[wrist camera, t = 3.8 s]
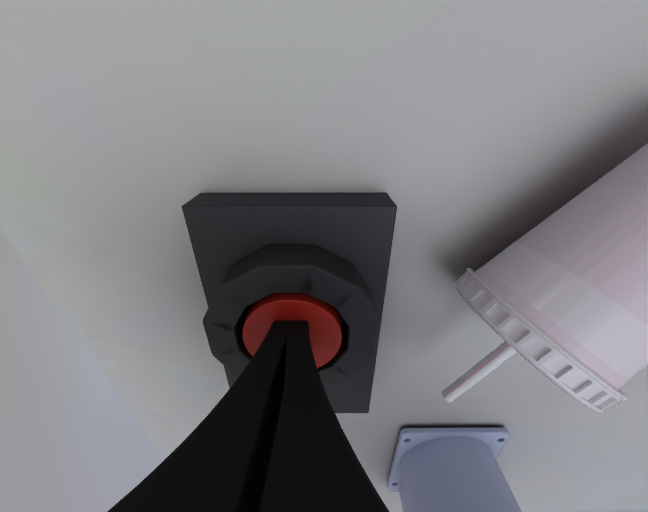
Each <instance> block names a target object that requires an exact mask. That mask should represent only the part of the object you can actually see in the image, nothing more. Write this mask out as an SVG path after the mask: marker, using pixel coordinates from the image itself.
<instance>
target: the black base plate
mask: <svg viewBox="0 0 648 512" xmlns="http://www.w3.org/2000/svg"><path fill="white" fill-rule="evenodd" d="M182 209H183V213H184V217H185V221H186V225H187V228H188V232H189V236H190V240H191V243H192V247H193V251H194V255H195V258H196V262H197V266H198V270H199V274H200V277H201V281H202V285H203V289H204V292H205V296H206V300H207V304H208V307H209V308H208V310H207V312H206V314H205V316H204V319H203V325H204V328H205V331H206V335H207V338H208V342H209V345H210V349H211V352H212V354H213V355H214V357H216V358H217V359H218V360H219V361H220V362H221V363H222V364H223V365H224V368H225V372H226V375H227V379H228V383H229V387H230V388H231V386H232V385H233V384H234V382H235V381H236V380H237V378H238V377H239V376H240V374H241V373H242V371H243V370H244V369H245V367H246V366H247V364H248V363H249V361H250V360H251V358H252V357H253V356H252V355H251V354H250V353H249V351H248V350H247V348H246V346H245V344H244V341H243V327H244V323H245V321H246V318H247V315H248V312H249V309H250V307H251V304H252V303H254V302H256V301H258V300H260V299H262V298H264V297H266V296H268V295H270V294H272V293H306V294H308V295H310V296H313V297H315V298H317V299H319V300H321V301H324V302H326V303H328V304H330V305H332V306H335V308H336V309H337V311H338V312H339V313H340V320H341V331H342V341H341V345H340V348H339V350H338V352H337V353H336V355H335V356H334V357H333V358H332V359H331V360H330V361H329V362H327V363H326V364H324V365H323V366H321V367H318V368H317V369H318V372H319V375H320V378H321V381H322V383H323V386H324V389H325V391H326V394H327V396H328V399H329V401H330V404H331V406H332V408H333V410H334V413H368V412H369V405H370V398H371V391H372V384H373V376H374V369H375V362H376V355H377V347H378V340H379V333H380V326H381V318H382V311H383V304H384V297H385V290H386V282H387V275H388V268H389V261H390V253H391V246H392V239H393V232H394V224H395V217H396V210H397V206H396V205H395V203H394V202H393V201H392V199H391V198H390V197H389V195H388V194H387V193H200V194H199V195H197V196H196V197H194V198H193V199H192V200H190V201H189V202H187V203H186V204H184V205H183V206H182Z"/></svg>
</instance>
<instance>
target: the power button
mask: <svg viewBox="0 0 648 512" xmlns="http://www.w3.org/2000/svg"><path fill="white" fill-rule="evenodd" d="M275 320H306V321H307V322H309V337H310V342H311V347H312V352H313V355H314V359H315V362H316V366H317V368H318V367H321V366H323V365H324V364H326V363H327V362H329V361H330V360H331V359H332V358H333V357H334V356H335V355H336V353H337V352H338V350H339V348H340V345H341V341H342V331H341V320H340V313H339V312H338V311H337V309H336V308H335V306H332V305H330V304H328V303H326V302H324V301H321V300H319V299H317V298H315V297H313V296H310V295H308V294H306V293H272V294H270V295H268V296H266V297H264V298H262V299H260V300H258V301H256V302H254V303H252V304H251V307H250V309H249V312H248V315H247V318H246V321H245V323H244V327H243V341H244V344H245V346H246V348H247V350H248V351H249V353H250V354H251V355H252V356H253V355H254V354H255V352H256V351H257V349H258V348H259V346H260V344H261V343H262V341H263V339H264V338H265V336H266V334H267V332H268V330H269V329H270V327H271V325H272V323H273V322H274V321H275Z"/></svg>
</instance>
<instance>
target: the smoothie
mask: <svg viewBox="0 0 648 512" xmlns="http://www.w3.org/2000/svg"><path fill="white" fill-rule="evenodd" d="M455 286H456V289H457V290H458V292H459V293H460V295H461V296H462V297H463V298H464V300H465V301H466V302H467V303H468V304H469V305H470V306H471V307H472V309H473V310H474V311H475V312H476V313H477V314H478V315H479V316H480V317H481V318H482V319H483V320H484V321H485V322H486V323H487V324H488V325H489V326H490V327H491V328H492V329H493V330H494V331H495V332H496V333H497V334H498V335H499V336H501V337H502V339H504V340H505V342H504V343H502V344H501V345H500V346H499V347H497V348H496V349H495V350H494V351H492V352H491V353H490V354H489V355H487V356H486V357H485V358H484V359H482V360H481V361H480V362H479V363H477V364H476V365H475V366H474V367H472V368H471V369H470V370H469V371H467V372H466V373H465V374H464V375H462V376H461V377H460V378H459V379H457V380H456V381H455V382H454V383H452V384H451V385H450V386H449V387H447V388H446V389H445V390H444V391H443V392H442V395H443V397H444V398H445V399H446V400H447V401H448V402H449V403H451V402H453V401H454V400H455V399H456V398H458V397H459V396H460V395H462V394H463V393H464V392H465V391H467V390H468V389H469V388H471V387H472V386H473V385H475V384H476V383H477V382H478V381H480V380H481V379H482V378H484V377H485V376H486V375H488V374H489V373H490V372H491V371H493V370H494V369H495V368H497V367H498V366H499V365H500V364H502V363H503V362H504V361H506V360H507V359H508V358H510V357H511V356H512V355H513V354H515V353H516V352H518V353H519V354H520V355H521V356H522V357H524V358H525V359H526V360H527V361H528V362H529V363H530V364H532V365H533V366H534V367H535V368H536V369H537V370H539V371H540V372H541V373H542V374H543V375H545V376H546V377H547V378H548V379H549V380H551V381H552V382H553V383H554V384H556V385H557V386H558V387H559V388H561V389H562V390H563V391H565V392H566V393H567V394H568V395H570V396H571V397H573V398H574V399H575V400H577V401H578V402H580V403H581V404H583V405H584V406H586V407H588V408H589V409H591V410H593V411H596V412H600V413H602V412H604V411H605V410H607V409H608V408H610V407H612V406H613V405H615V404H617V403H618V402H620V401H622V400H624V401H628V400H629V399H628V397H627V395H626V394H625V393H624V392H623V391H622V390H621V389H620V388H621V387H622V386H623V385H625V384H626V383H627V382H628V380H630V379H631V378H632V377H633V376H634V375H636V374H637V373H638V372H639V371H640V370H642V369H643V368H644V367H645V366H646V365H648V143H647V144H646V145H644V146H643V147H642V148H640V149H639V150H638V151H636V152H635V153H634V154H632V155H631V156H630V157H628V158H627V159H626V160H624V161H623V162H622V163H620V164H619V165H618V166H616V167H615V168H614V169H612V170H611V171H610V172H608V173H607V174H605V175H604V176H603V177H601V178H600V179H599V180H597V181H596V182H595V183H593V184H592V185H591V186H589V187H588V188H587V189H585V190H584V191H583V192H581V193H580V194H579V195H577V196H576V197H575V198H573V199H572V200H571V201H569V202H568V203H567V204H565V205H564V206H562V207H561V208H560V209H558V210H557V211H556V212H554V213H553V214H552V215H550V216H549V217H548V218H546V219H545V220H544V221H542V222H541V223H540V224H538V225H537V226H536V227H534V228H533V229H532V230H530V231H529V232H528V233H526V234H525V235H524V236H522V237H521V238H519V239H518V240H517V241H515V242H514V243H512V244H511V245H510V246H508V247H507V248H506V249H504V250H503V251H502V252H501V253H499V254H498V255H497V256H495V257H494V258H493V259H491V260H490V261H489V262H488V263H486V264H485V265H484V266H482V267H481V268H479V269H478V270H476V271H474V270H473V269H471V268H467V271H466V273H464V274H463V275H462V276H461V277H460V278H459V279H458V280H457V281H456V282H455Z"/></svg>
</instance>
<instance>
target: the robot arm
mask: <svg viewBox="0 0 648 512" xmlns="http://www.w3.org/2000/svg"><path fill="white" fill-rule="evenodd" d="M509 435H510V434H509V432H508V431H507V429H506V428H502V427H490V428H404V429H402V430H401V432H400V435H399V439H398V443H397V447H396V451H395V455H394V459H393V463H392V467H391V471H390V475H389V479H388V483H387V487H388V490H389V491H391V492H399V493H400V498H401V503H402V508H403V512H522V511H521V509H520V507H519V505H518V503H517V501H516V499H515V497H514V495H513V493H512V491H511V489H510V487H509V485H508V483H507V481H506V479H505V477H504V475H503V473H502V471H501V469H500V467H499V465H498V463H497V461H496V457H497V455H498V454H499V452H500V451H501V449H502V447H503V446H504V444H505V442H506V441H507V439H508V437H509ZM108 512H389V510H388V509H387V507H386V506H385V504H384V503H383V501H382V499H381V498H380V496H379V494H378V493H377V491H376V489H375V488H374V486H373V485H372V483H371V481H370V479H369V478H368V476H367V474H366V472H365V471H364V469H363V467H362V466H361V464H360V462H359V460H358V458H357V456H356V455H355V453H354V451H353V449H352V447H351V445H350V443H349V441H348V439H347V437H346V436H345V434H344V432H343V430H342V428H341V426H340V423H339V421H338V419H337V417H336V415H335V413H334V410H333V408H332V406H331V404H330V401H329V399H328V396H327V394H326V391H325V389H324V386H323V383H322V381H321V378H320V375H319V372H318V369H317V366H316V362H315V359H314V355H313V352H312V347H311V342H310V337H309V322H307V321H306V320H275V321H274V322H273V323H272V325H271V327H270V329H269V330H268V332H267V334H266V336H265V338H264V339H263V341H262V343H261V344H260V346H259V348H258V349H257V351H256V352H255V354H254V355H253V357H252V358H251V360H250V361H249V363H248V364H247V366H246V367H245V369H244V370H243V371H242V373H241V374H240V376H239V377H238V378H237V380H236V381H235V382H234V384H233V385H232V386H231V388H230V389H229V390H228V392H227V393H226V394H225V395H224V397H223V398H222V399H221V400H220V401H219V403H218V404H217V405H216V406H215V407H214V409H213V410H212V411H211V412H210V413H209V414H208V415H207V417H206V418H205V419H204V420H203V421H202V422H201V423H200V424H199V425H198V426H197V428H196V429H195V430H194V431H193V432H192V433H191V434H190V435H189V436H188V437H187V438H186V439H185V440H184V441H183V442H182V443H181V444H180V445H179V446H178V447H177V448H176V449H175V450H174V451H173V452H172V453H171V454H170V455H169V456H168V457H167V458H166V459H165V460H164V461H163V462H162V463H161V464H160V465H159V466H158V467H157V468H156V469H155V470H154V471H153V472H152V473H150V474H149V475H148V476H147V477H146V478H145V479H144V480H143V481H142V482H141V483H140V484H139V485H137V487H135V488H134V489H133V490H132V491H131V492H130V493H128V494H127V495H126V496H125V497H124V498H123V499H121V500H120V501H119V502H118V503H117V504H116V505H115V506H113V507H112V508H111V509H110V510H109V511H108Z"/></svg>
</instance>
